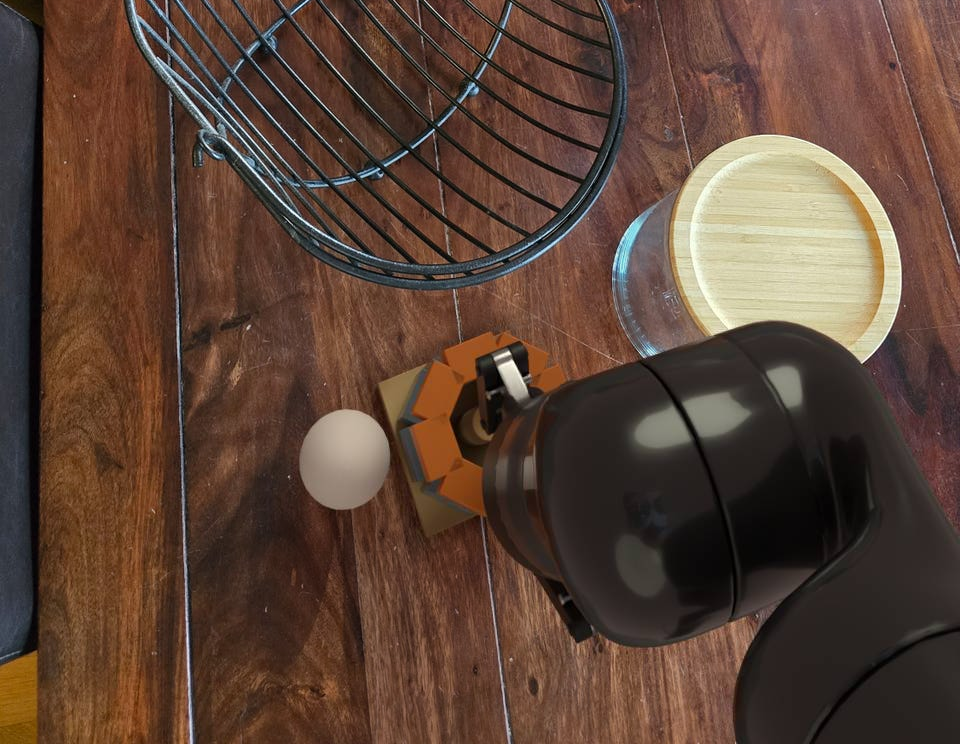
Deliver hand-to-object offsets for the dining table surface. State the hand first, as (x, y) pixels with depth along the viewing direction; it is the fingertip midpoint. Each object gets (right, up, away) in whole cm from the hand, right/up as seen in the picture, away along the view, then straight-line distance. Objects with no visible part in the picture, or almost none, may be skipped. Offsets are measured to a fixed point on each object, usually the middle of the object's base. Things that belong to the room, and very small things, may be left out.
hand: (514, 486), depth 63 cm
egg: (-10, -2, +7) cm, 13 cm away
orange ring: (-1, +3, +1) cm, 3 cm away
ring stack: (-3, -1, +9) cm, 10 cm away
